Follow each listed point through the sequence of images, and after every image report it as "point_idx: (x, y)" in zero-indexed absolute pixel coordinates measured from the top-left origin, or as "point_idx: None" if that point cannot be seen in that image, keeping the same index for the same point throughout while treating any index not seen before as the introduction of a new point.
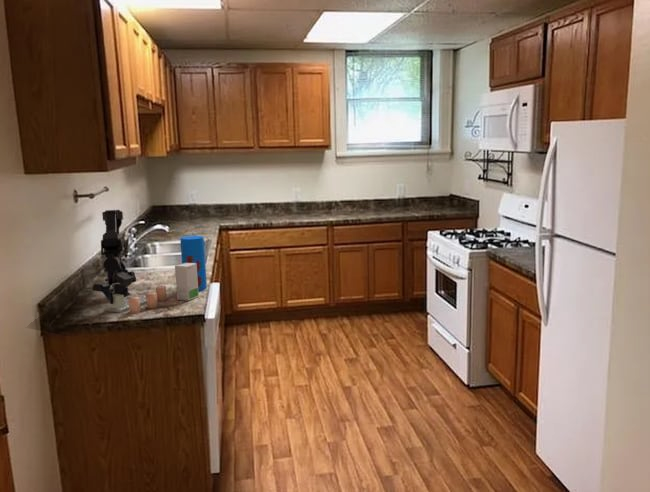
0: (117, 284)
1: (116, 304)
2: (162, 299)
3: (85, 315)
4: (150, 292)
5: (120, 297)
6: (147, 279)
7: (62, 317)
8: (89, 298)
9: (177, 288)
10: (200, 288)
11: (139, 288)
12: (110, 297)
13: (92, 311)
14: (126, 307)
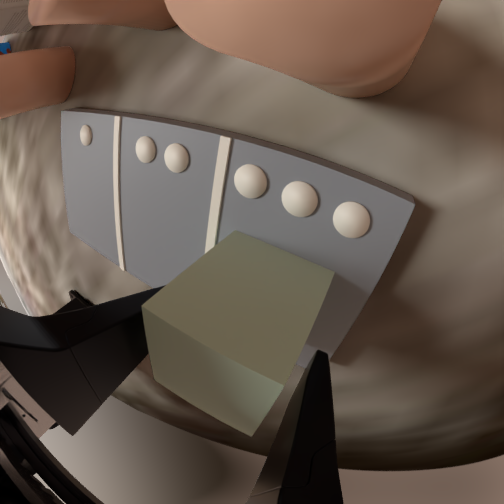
0: (68, 427)
1: (318, 309)
2: (62, 50)
3: (420, 421)
4: (31, 15)
5: (215, 323)
6: (24, 278)
7: (417, 465)
8: (167, 409)
9: (3, 2)
10: (1, 44)
11: (44, 276)
12: (332, 442)
13: (340, 410)
14: (277, 184)
